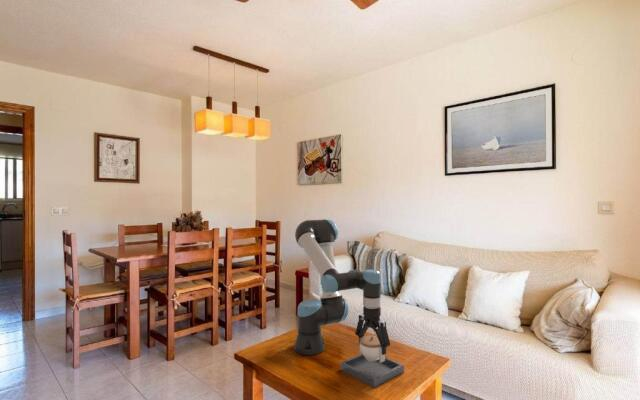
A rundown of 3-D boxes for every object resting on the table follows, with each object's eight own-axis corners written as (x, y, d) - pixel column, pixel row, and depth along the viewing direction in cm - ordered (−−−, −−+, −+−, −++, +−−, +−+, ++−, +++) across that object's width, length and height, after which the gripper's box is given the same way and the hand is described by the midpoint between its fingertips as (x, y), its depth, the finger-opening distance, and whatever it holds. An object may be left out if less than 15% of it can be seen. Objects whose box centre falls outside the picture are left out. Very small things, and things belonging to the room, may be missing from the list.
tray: (340, 369, 153) (340, 362, 153) (370, 356, 166) (370, 350, 166) (374, 387, 138) (374, 380, 138) (403, 372, 151) (403, 365, 151)
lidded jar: (389, 360, 149) (389, 338, 149) (368, 365, 145) (368, 343, 145) (375, 350, 159) (375, 330, 159) (355, 355, 154) (355, 334, 154)
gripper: (399, 310, 145) (399, 363, 145) (358, 298, 163) (358, 345, 163) (387, 314, 141) (387, 369, 141) (347, 301, 158) (347, 350, 158)
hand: (372, 356), depth 152 cm, fingers closed on lidded jar, 11 cm apart
